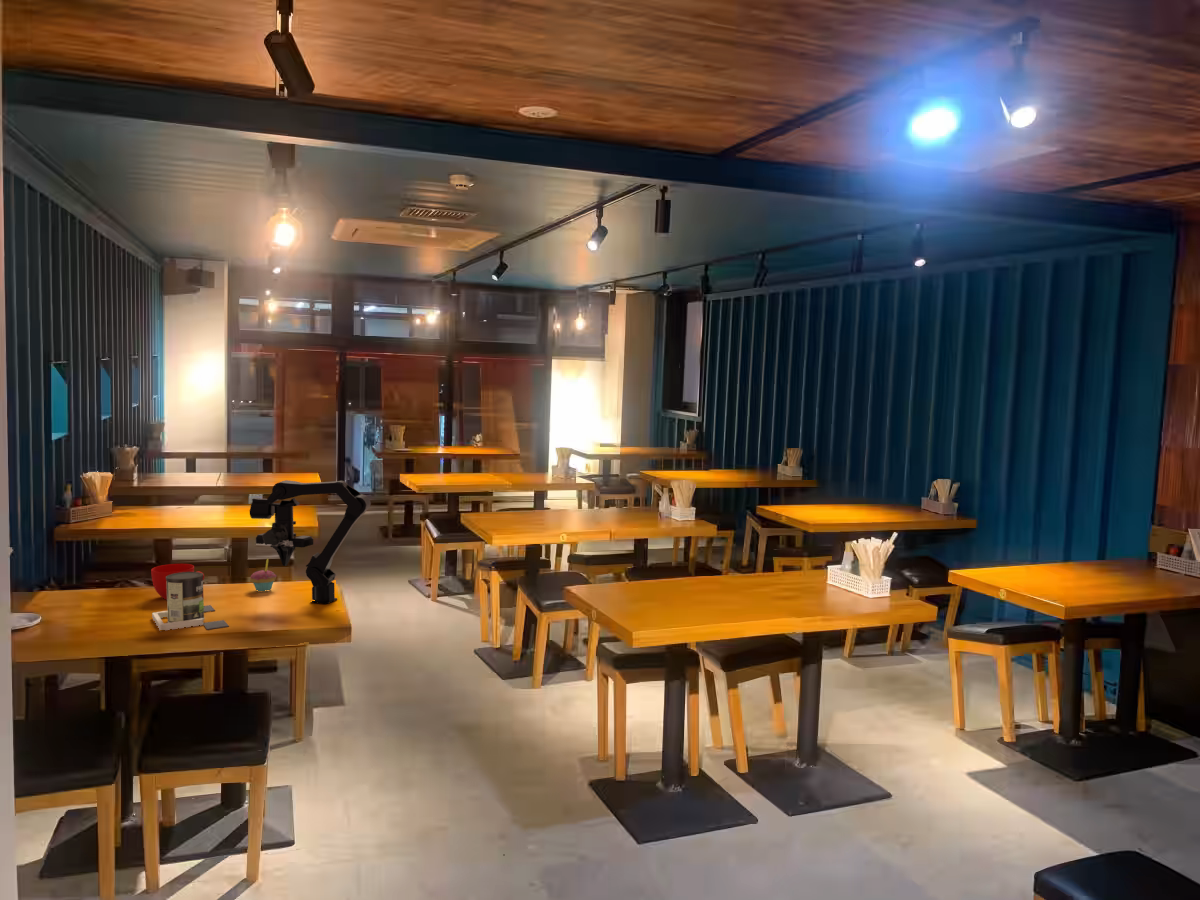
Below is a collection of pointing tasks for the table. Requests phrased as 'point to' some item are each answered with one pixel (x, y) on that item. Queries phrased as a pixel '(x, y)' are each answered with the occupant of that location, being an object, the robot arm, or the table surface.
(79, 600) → the table surface
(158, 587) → the ceramic cup
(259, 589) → the cupcake
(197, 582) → the coffee can
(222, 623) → the pair of grey pads
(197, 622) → the dock
